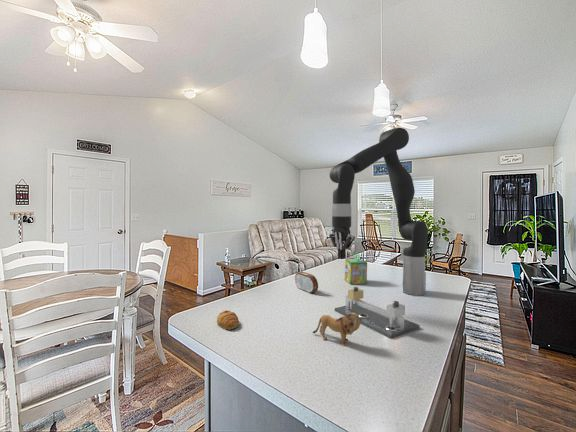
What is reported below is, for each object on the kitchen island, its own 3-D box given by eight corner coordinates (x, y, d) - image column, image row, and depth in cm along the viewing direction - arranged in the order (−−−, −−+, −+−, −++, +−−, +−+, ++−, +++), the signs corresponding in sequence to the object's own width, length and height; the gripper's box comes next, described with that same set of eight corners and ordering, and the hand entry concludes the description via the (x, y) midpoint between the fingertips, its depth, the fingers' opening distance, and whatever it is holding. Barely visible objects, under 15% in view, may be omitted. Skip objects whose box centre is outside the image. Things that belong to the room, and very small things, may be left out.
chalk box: (344, 280, 151) (344, 252, 150) (360, 279, 152) (361, 252, 151) (350, 284, 142) (350, 255, 141) (367, 284, 143) (367, 255, 142)
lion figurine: (361, 341, 82) (362, 311, 82) (357, 349, 78) (357, 317, 77) (315, 331, 89) (315, 303, 89) (308, 338, 84) (308, 308, 84)
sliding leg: (357, 305, 107) (357, 285, 107) (363, 307, 105) (363, 287, 105) (347, 307, 105) (347, 287, 105) (353, 310, 102) (353, 289, 102)
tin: (318, 294, 127) (318, 275, 126) (313, 295, 125) (313, 276, 125) (299, 286, 139) (298, 269, 139) (293, 287, 137) (293, 270, 137)
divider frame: (352, 304, 110) (352, 284, 110) (407, 328, 88) (407, 302, 88) (342, 306, 108) (342, 285, 107) (396, 331, 86) (397, 305, 86)
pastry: (243, 328, 92) (243, 316, 92) (224, 333, 88) (223, 321, 88) (233, 318, 100) (233, 308, 100) (214, 322, 96) (214, 311, 96)
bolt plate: (361, 304, 113) (361, 301, 113) (419, 328, 91) (419, 324, 91) (334, 310, 106) (334, 307, 106) (390, 338, 84) (390, 334, 84)
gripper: (360, 215, 107) (360, 260, 107) (337, 214, 118) (337, 255, 119) (345, 215, 103) (345, 262, 104) (323, 215, 115) (323, 257, 115)
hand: (341, 258), depth 111 cm, fingers closed
